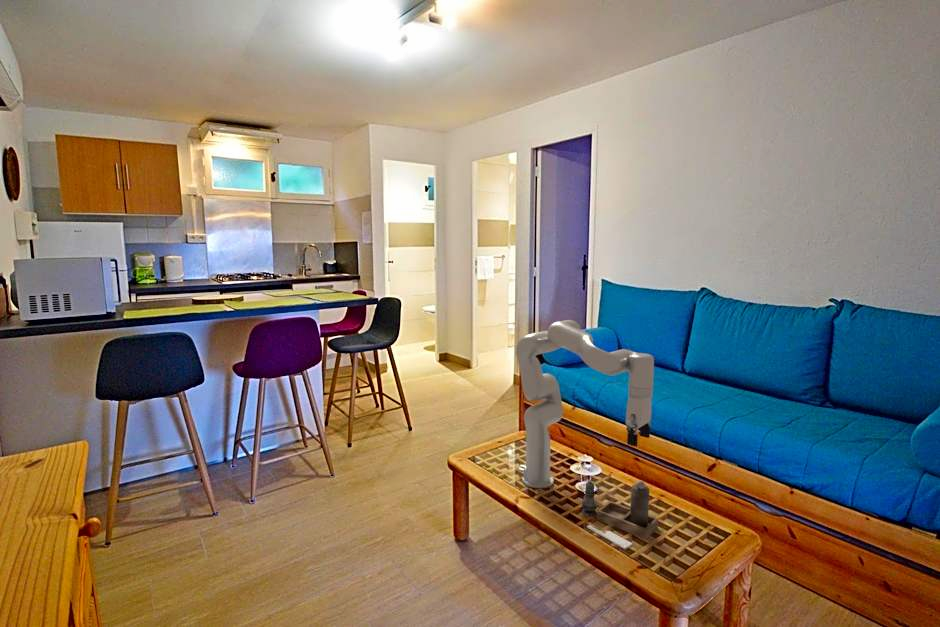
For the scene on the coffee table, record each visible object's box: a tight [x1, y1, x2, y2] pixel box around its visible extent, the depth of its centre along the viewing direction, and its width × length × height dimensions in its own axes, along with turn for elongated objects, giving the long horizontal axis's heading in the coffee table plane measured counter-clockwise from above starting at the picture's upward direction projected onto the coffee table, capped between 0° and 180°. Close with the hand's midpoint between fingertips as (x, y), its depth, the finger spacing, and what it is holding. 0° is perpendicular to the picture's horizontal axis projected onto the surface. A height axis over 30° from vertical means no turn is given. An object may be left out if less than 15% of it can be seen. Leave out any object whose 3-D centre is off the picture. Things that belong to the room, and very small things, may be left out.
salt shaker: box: [580, 479, 599, 517], centre depth 172 cm, size 6×6×12 cm
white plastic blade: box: [586, 524, 634, 550], centre depth 158 cm, size 5×15×1 cm, turn 35°
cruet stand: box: [596, 480, 659, 540], centre depth 164 cm, size 17×9×17 cm, turn 47°
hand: (638, 440), depth 163 cm, fingers open, 9 cm apart
